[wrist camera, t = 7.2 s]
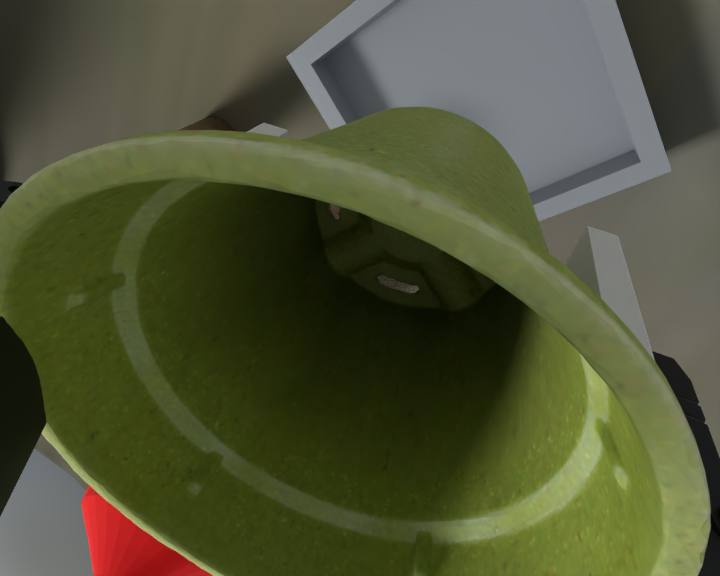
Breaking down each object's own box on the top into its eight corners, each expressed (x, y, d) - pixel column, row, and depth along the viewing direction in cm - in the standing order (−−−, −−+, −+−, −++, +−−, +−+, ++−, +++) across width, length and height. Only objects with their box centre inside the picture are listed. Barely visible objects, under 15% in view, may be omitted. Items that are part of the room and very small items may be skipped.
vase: (213, 518, 67) (121, 674, 52) (116, 441, 63) (-15, 588, 48) (285, 497, 56) (195, 686, 41) (173, 403, 52) (28, 577, 37)
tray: (305, 50, 25) (285, 57, 24) (558, -152, 18) (560, -167, 16) (422, 249, 30) (414, 268, 28) (660, 154, 23) (671, 171, 21)
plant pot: (688, 68, 9) (1125, 352, 2) (529, 378, 15) (520, 722, 8) (268, -4, 11) (-186, 37, 4) (270, 299, 16) (84, 527, 10)
